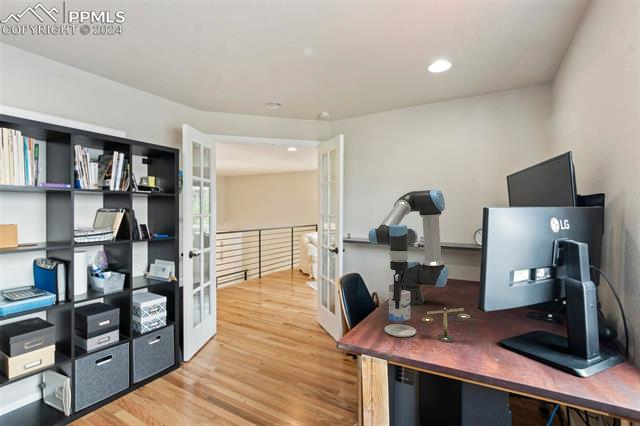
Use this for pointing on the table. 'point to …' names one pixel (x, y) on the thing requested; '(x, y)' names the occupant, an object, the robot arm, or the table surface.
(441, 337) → the balance
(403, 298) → the ink box
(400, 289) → the robot arm
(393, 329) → the dish
